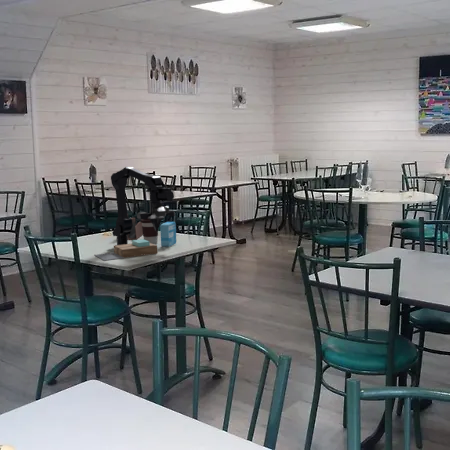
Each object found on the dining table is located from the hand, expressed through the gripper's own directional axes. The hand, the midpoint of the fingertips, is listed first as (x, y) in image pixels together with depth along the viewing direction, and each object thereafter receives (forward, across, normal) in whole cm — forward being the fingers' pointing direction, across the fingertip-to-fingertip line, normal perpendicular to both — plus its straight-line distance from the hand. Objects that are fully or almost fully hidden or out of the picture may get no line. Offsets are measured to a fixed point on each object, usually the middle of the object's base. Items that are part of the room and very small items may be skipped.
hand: (156, 231), depth 309 cm
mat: (+10, -26, 0) cm, 28 cm away
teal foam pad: (+6, -9, 0) cm, 11 cm away
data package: (+10, +11, +11) cm, 19 cm away
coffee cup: (+10, +5, +22) cm, 25 cm away
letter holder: (+11, +4, +48) cm, 49 cm away
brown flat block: (+10, -12, 0) cm, 16 cm away
